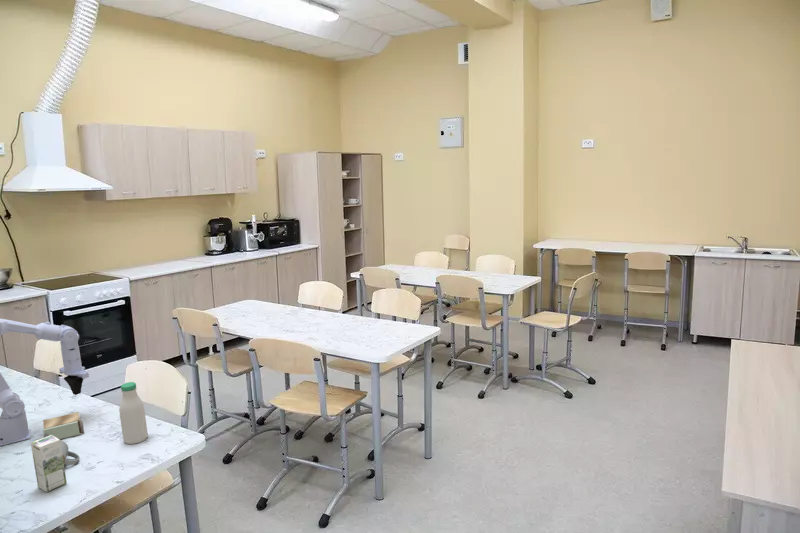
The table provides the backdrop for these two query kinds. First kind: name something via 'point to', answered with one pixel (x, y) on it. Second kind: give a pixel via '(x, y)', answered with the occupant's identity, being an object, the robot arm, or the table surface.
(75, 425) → the door
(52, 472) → the syrup box
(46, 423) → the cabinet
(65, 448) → the ceramic mug
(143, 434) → the milk bottle
